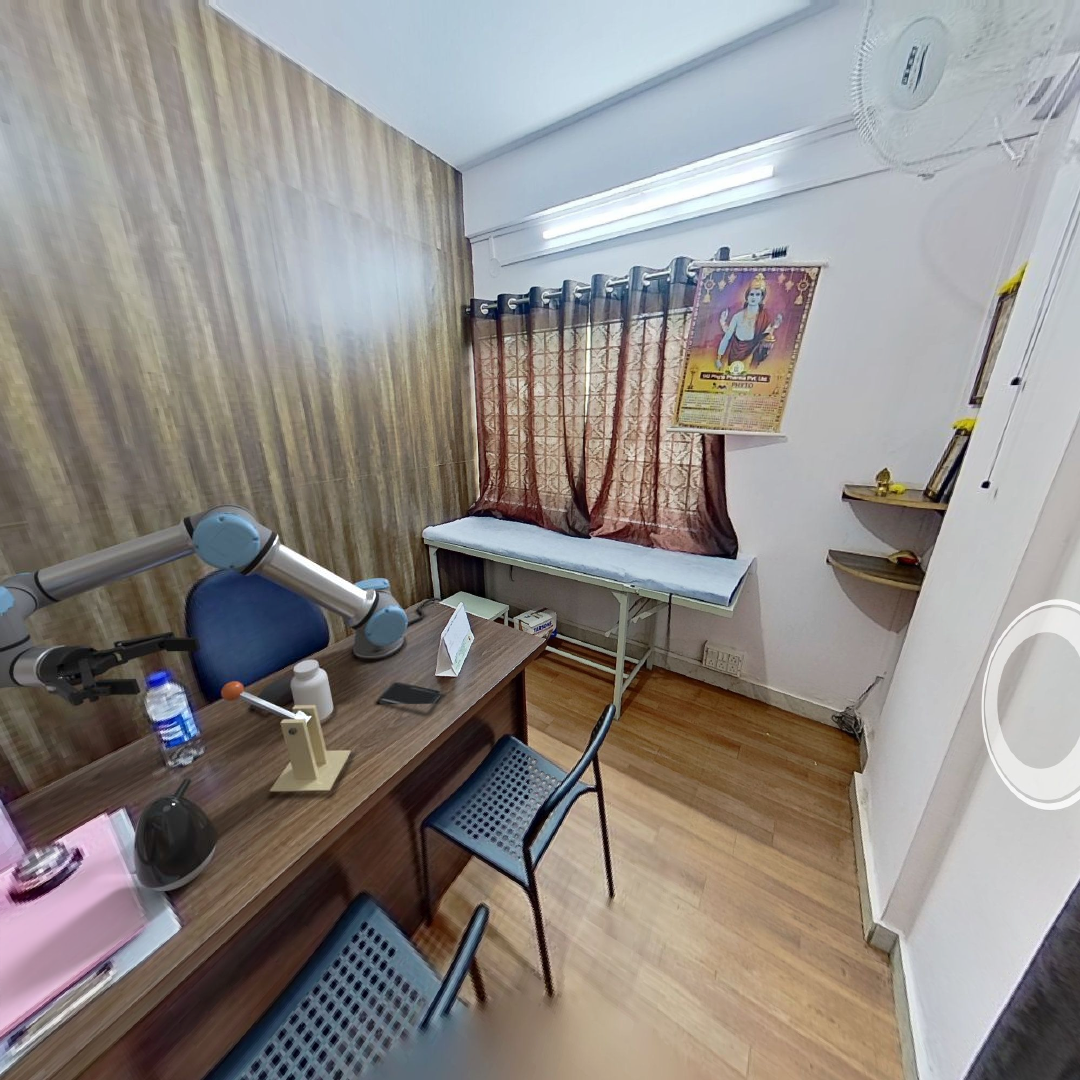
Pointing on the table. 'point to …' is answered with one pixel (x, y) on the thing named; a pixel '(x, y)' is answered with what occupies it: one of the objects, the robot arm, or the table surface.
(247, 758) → the table surface
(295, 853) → the table surface
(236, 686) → the lever
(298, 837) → the table surface
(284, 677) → the computer mouse
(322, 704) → the pill bottle
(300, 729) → the bracket
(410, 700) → the phone
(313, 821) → the table surface
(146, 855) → the black rounded teardrop
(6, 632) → the robot arm
